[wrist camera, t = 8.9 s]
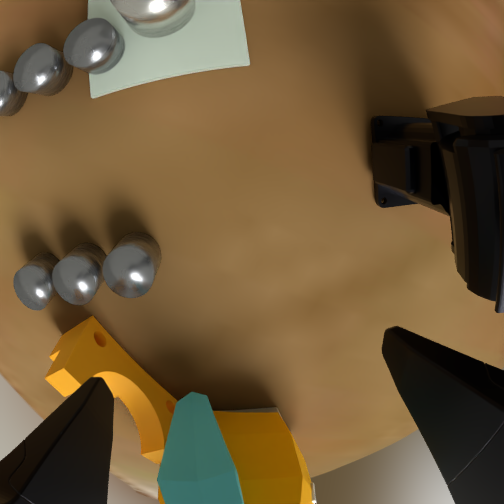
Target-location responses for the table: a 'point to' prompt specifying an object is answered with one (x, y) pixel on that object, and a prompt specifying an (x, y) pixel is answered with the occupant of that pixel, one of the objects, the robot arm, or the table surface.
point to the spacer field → (84, 255)
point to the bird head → (231, 457)
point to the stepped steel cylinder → (155, 15)
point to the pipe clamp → (114, 381)
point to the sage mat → (174, 46)
